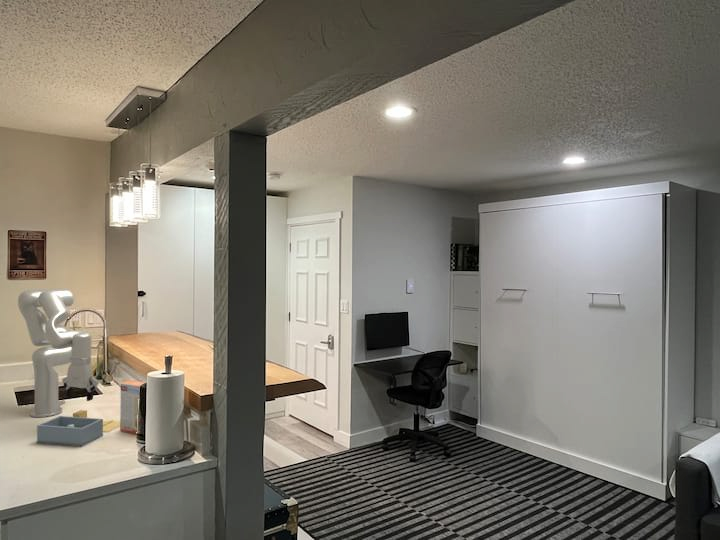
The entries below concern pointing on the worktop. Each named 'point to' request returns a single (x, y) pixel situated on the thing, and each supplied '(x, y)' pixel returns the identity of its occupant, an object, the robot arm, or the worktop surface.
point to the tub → (70, 430)
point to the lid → (107, 425)
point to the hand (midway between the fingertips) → (79, 399)
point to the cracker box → (129, 406)
